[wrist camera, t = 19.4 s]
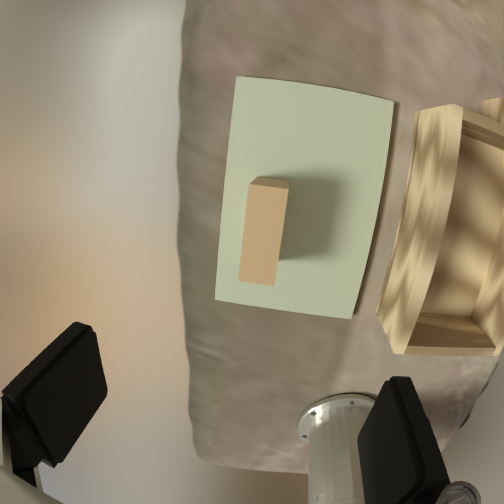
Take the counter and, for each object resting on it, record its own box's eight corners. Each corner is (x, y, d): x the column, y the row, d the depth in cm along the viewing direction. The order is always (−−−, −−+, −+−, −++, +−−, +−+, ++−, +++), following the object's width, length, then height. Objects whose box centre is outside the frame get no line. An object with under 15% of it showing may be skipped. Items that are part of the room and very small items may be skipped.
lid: (348, 312, 34) (360, 351, 27) (217, 293, 35) (200, 329, 28) (389, 103, 26) (417, 92, 19) (239, 79, 27) (223, 60, 20)
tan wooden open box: (469, 319, 32) (504, 363, 23) (375, 311, 33) (398, 363, 24) (515, 116, 23) (568, 116, 14) (418, 75, 24) (462, 54, 15)
